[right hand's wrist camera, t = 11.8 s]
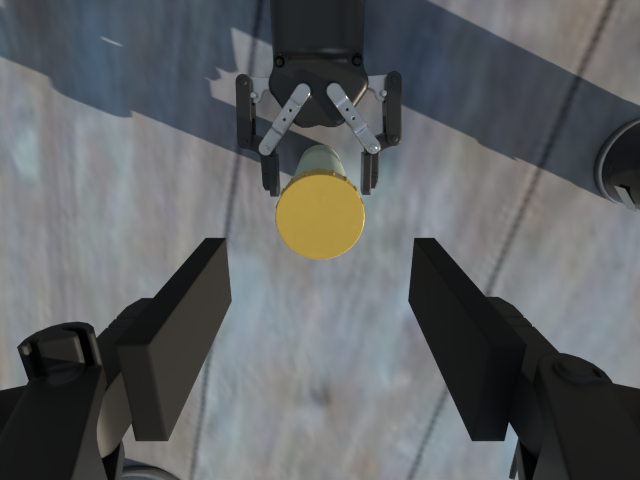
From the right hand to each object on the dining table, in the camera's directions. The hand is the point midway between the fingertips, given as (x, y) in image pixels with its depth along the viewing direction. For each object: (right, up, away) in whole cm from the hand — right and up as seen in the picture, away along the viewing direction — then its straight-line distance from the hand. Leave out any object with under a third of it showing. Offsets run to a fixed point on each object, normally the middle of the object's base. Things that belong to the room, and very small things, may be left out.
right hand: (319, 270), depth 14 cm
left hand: (0, +6, +20) cm, 21 cm away
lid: (0, +3, +7) cm, 7 cm away
